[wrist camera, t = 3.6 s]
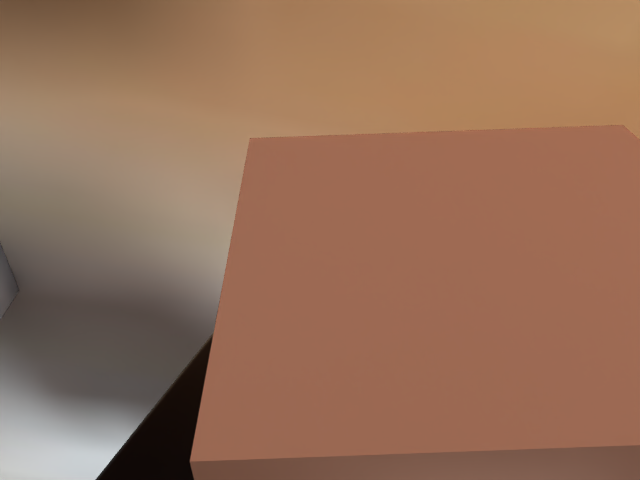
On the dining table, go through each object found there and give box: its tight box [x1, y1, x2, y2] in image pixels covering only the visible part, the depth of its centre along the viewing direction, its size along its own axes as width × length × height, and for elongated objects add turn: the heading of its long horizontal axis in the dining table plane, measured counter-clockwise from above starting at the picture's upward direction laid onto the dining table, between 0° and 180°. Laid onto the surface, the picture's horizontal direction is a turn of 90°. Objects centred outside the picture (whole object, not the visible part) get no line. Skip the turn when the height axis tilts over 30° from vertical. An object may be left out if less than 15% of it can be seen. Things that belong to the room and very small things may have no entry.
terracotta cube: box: [190, 125, 640, 480], centre depth 7 cm, size 5×5×5 cm
